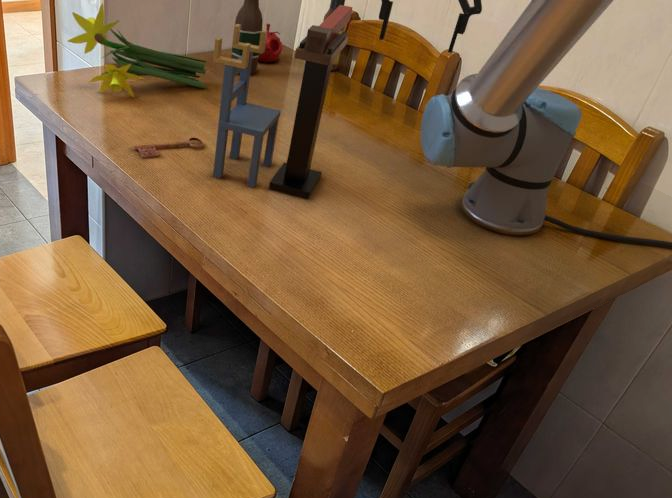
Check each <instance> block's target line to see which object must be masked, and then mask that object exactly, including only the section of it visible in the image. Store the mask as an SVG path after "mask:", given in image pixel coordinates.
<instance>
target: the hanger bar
mask: <svg viewBox="0 0 672 498" xmlns="http://www.w3.org/2000/svg"><path fill="white" fill-rule="evenodd" d="M352 12H353V6H349V5H345V4H344V5H340V6H339V7H338V8H337V9H336V10H335V11H334V12H333V13H332V14H331V15H330V16H329V17H328V18H326V19H325V20H324V19H323V20H324V21H323V20H322V23H320V24H319V25H314V24H313V25H311V26H310V27H309V28H308V29H307V33H306V36H307V37H306V36H305V37H306V43H305V48H304V50H305V51H310V52H314V53H319V54H324V52H325V51H326V50H327V48H328V45H329V44H330V42H331V41H332V40H333V39H334V38H335V37H336V36H337V35H338V33H339V32H340V31H341V30H342V29H343V28H344V27H345V28H346V25H348V23H350V21H351V17H352Z"/></svg>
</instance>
